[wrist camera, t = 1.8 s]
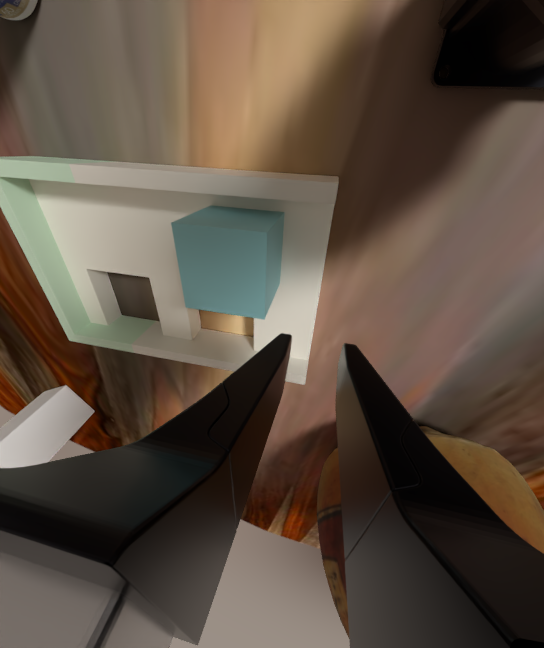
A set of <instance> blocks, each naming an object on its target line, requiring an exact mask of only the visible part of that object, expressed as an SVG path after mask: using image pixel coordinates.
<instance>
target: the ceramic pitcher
mask: <svg viewBox="0 0 544 648" xmlns="http://www.w3.org/2000/svg"><path fill="white" fill-rule="evenodd" d="M420 428H421V430H422V431H423V432H424V433H425V435H426V436H427V437H428V438H429V439H430V441H431V442H432V443H433V444H434V446H435V447H436V448H437V449H438V450H439V451H440V453H441V454H442V455H443V456H444V457H445V458H446V459H447V460H448V462H449V463H450V464H451V465H452V466H453V467H454V468H455V469H456V470H457V472H458V473H459V474H460V475H461V476H462V477H463V478H464V479H465V480H466V481H467V482H468V484H469V485H470V486H471V487H472V488H473V489H474V490H475V491H476V492H477V493H478V494H479V496H480V497H481V498H482V499H483V500H484V501H485V502H486V503H487V504H488V505H489V506H490V508H491V509H492V510H493V511H494V512H495V513H496V514H497V515H498V516H499V517H500V518H501V519H502V520H503V521H504V522H505V523H506V524H507V525H508V526H509V527H510V528H511V529H512V530H513V531H514V532H515V533H516V534H518V535H519V536H520V537H521V538H523V539H524V540H525V541H526V542H528V543H529V544H530V545H532V546H533V547H535V548H536V549H537V550H539V551H541V552H542V553H544V511H543V509H542V507H541V505H540V503H539V502H538V500H537V498H536V496H535V495H534V493H533V491H532V490H531V489H530V487H529V486H528V484H527V483H526V481H525V480H524V478H523V477H522V476H521V475H520V474H519V472H518V471H517V470H516V469H515V468H514V467H513V465H512V464H511V463H510V462H509V461H508V460H506V459H505V458H504V457H502V456H501V455H500V454H499V453H498V452H497V451H496V450H494V449H492V448H490V447H487V446H483V445H480V444H478V443H476V442H474V441H471V440H468V439H464V438H461V437H457V436H452V435H446V434H442V433H440V432H439V431H436V430H433V429H431V428H429V427H426V426H422V427H420ZM317 521H318V531H319V541H320V547H321V553H322V559H323V565H324V570H325V573H326V577H327V580H328V584H329V587H330V591H331V594H332V598H333V601H334V604H335V607H336V609H337V611H338V614H339V617H340V620H341V622H342V624H343V626H344V628H345V630H346V633H347V635H348V637H349V623H348V606H347V590H346V574H345V556H344V539H343V523H342V506H341V490H340V474H339V457H338V447H337V448H336V449H335V450H334V451H333V452H332V453H331V454H330V455H329V457H328V458H327V460H326V462H325V463H324V466H323V468H322V472H321V476H320V481H319V487H318V496H317Z"/></svg>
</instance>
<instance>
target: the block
mask: <svg viewBox="0 0 544 648" xmlns="http://www.w3.org/2000/svg"><path fill="white" fill-rule="evenodd" d="M284 215H285V212H278V211H267V210H256V209H245V208H234V207H222V206H211V205H210V206H208V207H206V208H203V209H201V210H199V211H197V212H194V213H192V214H190V215H187V216H185V217H183V218H181V219H178V220H176V221H174V222H171V226H172V231H173V237H174V243H175V249H176V255H177V260H178V266H179V272H180V278H181V284H182V289H183V295H184V301H185V307H186V308H192V309H199V310H205V311H212V312H218V313H225V314H231V315H238V316H244V317H251V318H257V319H264V320H265V317H266V315H267V313H268V310H269V308H270V306H271V303H272V301H273V299H274V296H275V294H276V292H277V289H278V287H279V285H280V275H281V260H282V245H283V230H284Z"/></svg>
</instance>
